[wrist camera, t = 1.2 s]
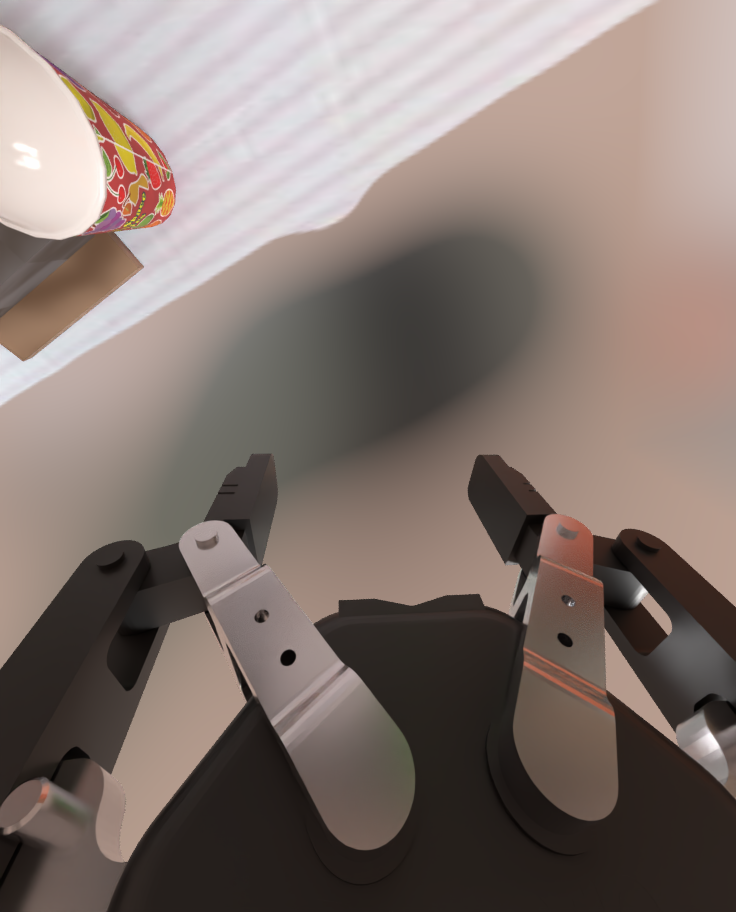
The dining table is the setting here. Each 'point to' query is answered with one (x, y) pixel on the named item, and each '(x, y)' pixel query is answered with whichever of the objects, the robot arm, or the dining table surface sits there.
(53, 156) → the smoothie
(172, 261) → the dining table surface
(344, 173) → the dining table surface
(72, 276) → the button console
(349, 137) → the dining table surface
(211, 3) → the dining table surface
